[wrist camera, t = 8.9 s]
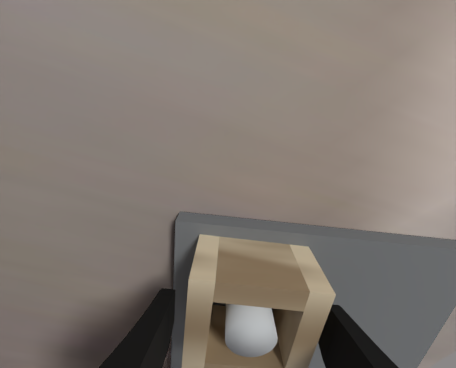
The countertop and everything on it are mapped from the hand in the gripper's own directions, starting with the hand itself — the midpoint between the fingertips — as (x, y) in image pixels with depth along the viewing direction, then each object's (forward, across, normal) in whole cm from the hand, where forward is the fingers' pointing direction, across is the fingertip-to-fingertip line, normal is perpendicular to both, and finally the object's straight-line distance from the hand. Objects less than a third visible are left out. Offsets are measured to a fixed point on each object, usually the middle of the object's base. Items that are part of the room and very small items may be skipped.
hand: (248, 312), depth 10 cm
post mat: (+3, -4, +4) cm, 6 cm away
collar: (+2, 0, 0) cm, 2 cm away
